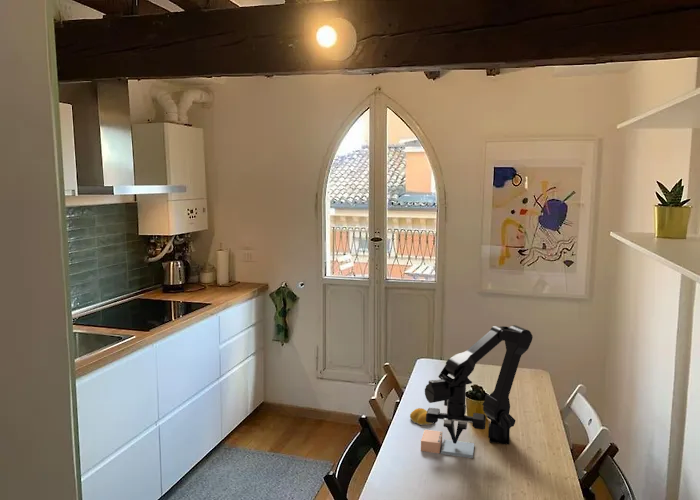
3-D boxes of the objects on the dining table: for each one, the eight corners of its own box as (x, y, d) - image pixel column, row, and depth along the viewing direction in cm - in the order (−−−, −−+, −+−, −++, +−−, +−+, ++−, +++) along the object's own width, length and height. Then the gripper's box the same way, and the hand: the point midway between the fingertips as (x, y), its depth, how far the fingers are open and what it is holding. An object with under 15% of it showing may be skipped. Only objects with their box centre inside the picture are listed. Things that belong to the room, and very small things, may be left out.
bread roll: (425, 428, 192) (425, 418, 191) (406, 420, 198) (406, 409, 198) (440, 421, 197) (440, 411, 197) (421, 413, 204) (421, 403, 203)
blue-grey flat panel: (474, 446, 179) (474, 442, 179) (472, 458, 172) (472, 454, 172) (443, 441, 182) (443, 438, 182) (440, 453, 174) (441, 450, 174)
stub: (442, 441, 182) (442, 431, 182) (439, 453, 175) (439, 442, 174) (424, 439, 184) (424, 429, 183) (420, 450, 176) (421, 440, 176)
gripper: (487, 391, 180) (485, 435, 182) (430, 384, 185) (429, 428, 187) (486, 404, 169) (484, 451, 171) (426, 397, 174) (425, 443, 176)
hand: (454, 442), depth 177 cm, fingers closed
